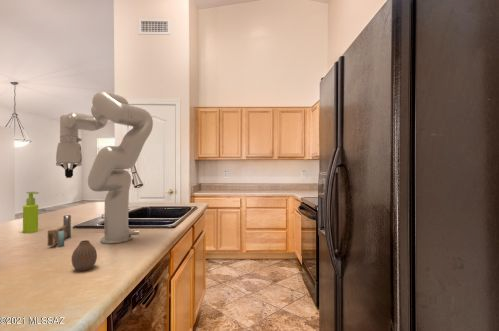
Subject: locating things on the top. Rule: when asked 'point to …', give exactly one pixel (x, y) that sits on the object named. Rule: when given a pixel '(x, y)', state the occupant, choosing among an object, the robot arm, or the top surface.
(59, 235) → the post
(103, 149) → the robot arm
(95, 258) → the vase
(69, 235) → the hinge post
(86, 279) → the top surface
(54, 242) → the gate
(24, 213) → the soap dispenser
